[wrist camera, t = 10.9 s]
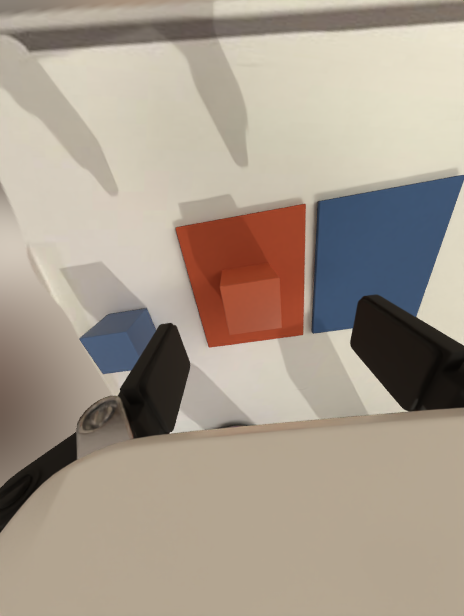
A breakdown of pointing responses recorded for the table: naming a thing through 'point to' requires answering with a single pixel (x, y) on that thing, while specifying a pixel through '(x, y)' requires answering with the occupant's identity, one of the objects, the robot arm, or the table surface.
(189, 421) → the table surface
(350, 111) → the table surface
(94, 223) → the table surface
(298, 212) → the terracotta mat
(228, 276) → the terracotta block
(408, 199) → the blue mat
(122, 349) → the blue block
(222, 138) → the table surface
